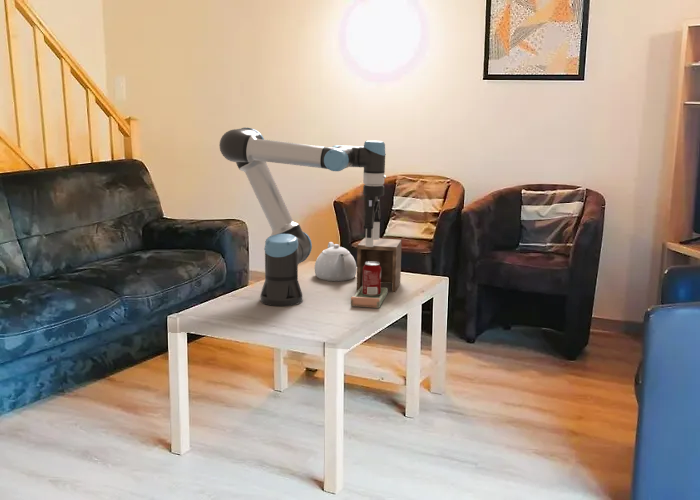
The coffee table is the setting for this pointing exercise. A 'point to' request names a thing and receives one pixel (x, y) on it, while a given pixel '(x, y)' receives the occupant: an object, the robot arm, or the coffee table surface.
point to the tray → (368, 299)
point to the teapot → (335, 264)
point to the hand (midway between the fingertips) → (372, 243)
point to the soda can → (371, 279)
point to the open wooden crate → (381, 260)
